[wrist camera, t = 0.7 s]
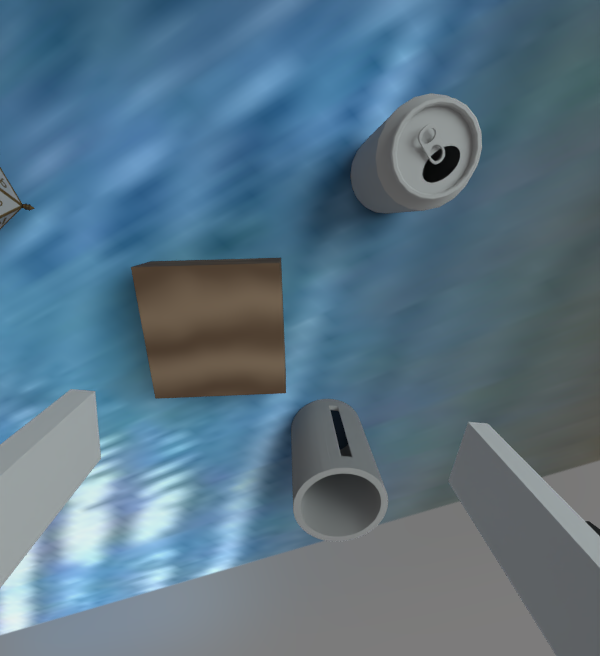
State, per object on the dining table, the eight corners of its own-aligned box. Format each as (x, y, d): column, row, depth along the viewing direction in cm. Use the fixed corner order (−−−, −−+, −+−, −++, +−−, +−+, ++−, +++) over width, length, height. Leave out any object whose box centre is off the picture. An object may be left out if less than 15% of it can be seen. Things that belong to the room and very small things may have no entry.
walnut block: (152, 261, 35) (130, 267, 30) (281, 257, 35) (280, 262, 31) (171, 377, 39) (155, 398, 35) (285, 372, 40) (285, 393, 35)
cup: (304, 465, 44) (310, 551, 32) (281, 411, 41) (279, 484, 30) (368, 446, 43) (397, 526, 32) (349, 389, 40) (374, 455, 29)
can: (376, 228, 34) (421, 232, 23) (333, 168, 32) (360, 140, 21) (435, 180, 33) (513, 159, 22) (395, 115, 31) (458, 53, 20)
